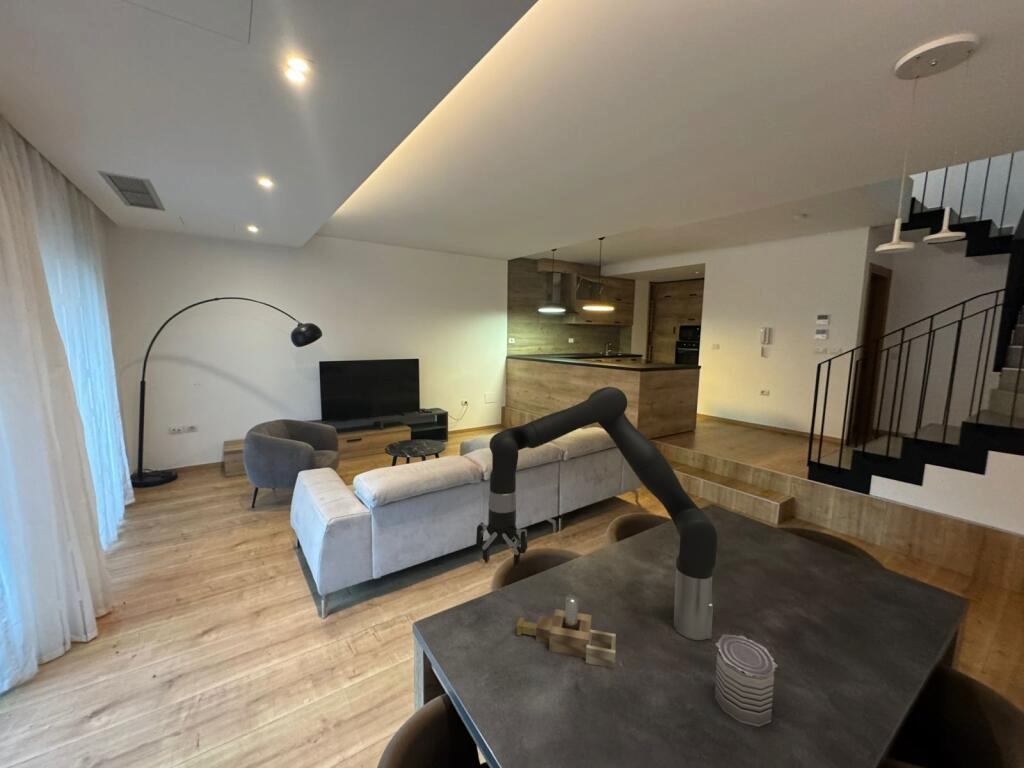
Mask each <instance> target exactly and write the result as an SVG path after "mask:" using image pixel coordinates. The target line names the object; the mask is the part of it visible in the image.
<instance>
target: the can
mask: <svg viewBox="0 0 1024 768" xmlns="http://www.w3.org/2000/svg"><path fill="white" fill-rule="evenodd" d="M715 646H716V649H717V652H716V668H715V669H716V670H715V671H716V672H715V685H714V687H715V688H714V689H715V691H714V699H715V700H716V702H717V703H718V705H719V706H720V708H721V710H722V711H723V712H724V713H726V714H727V715H729V716H730V717H732V718H734V719H735V720H736V721H737V722H739V723H741V724H746V725H749V726H755V727H758V728H759V727H762V726H764V725H766V724H769V723H771V722H772V713H773V697H774V683H775V671H776V670H777V667H779V665H778V664H777V662H776V661H775V659H774V658H773V657H772V655H771V654H770V653H769V651H768V650H767V648H766V647H764V646H762V644H759V643H757V642H755V641H753V640H751V639H750V638H748V637H746V636H745V635H737V634H724V633H723V634H722V635H721V636H720V638H719V639H717V642H716V643H715Z"/></svg>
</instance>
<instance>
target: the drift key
mask: <svg viewBox="0 0 1024 768" xmlns="http://www.w3.org/2000/svg"><path fill="white" fill-rule="evenodd" d="M536 627H537V623H534V622H530V621H529V622H528V621H525V617H522V616H519V618H518V621H517V622H516V636H520V637H521V636H522V635H523V634H524V635H529V636H533V637H536Z"/></svg>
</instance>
